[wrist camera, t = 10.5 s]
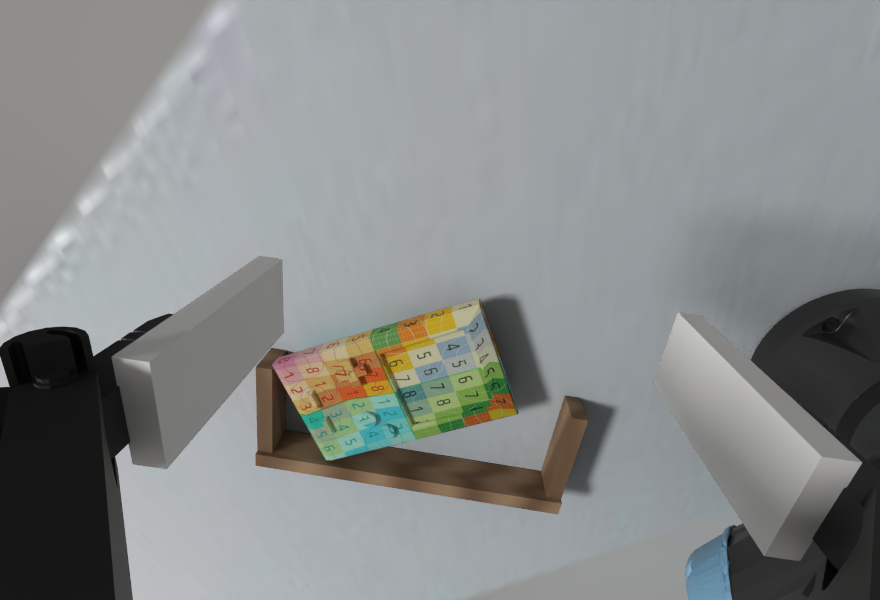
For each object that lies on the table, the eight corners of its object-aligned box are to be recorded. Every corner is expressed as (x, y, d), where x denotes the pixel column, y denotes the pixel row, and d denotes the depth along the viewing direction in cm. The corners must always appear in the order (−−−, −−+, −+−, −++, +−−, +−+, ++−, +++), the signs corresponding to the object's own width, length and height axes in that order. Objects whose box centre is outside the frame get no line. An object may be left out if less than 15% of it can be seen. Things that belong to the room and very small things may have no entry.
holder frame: (579, 398, 45) (589, 424, 41) (551, 483, 49) (557, 514, 46) (271, 348, 45) (253, 369, 41) (271, 438, 49) (255, 465, 46)
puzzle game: (267, 370, 40) (480, 308, 37) (286, 344, 45) (479, 287, 41) (322, 467, 45) (519, 420, 41) (335, 435, 49) (514, 390, 45)
